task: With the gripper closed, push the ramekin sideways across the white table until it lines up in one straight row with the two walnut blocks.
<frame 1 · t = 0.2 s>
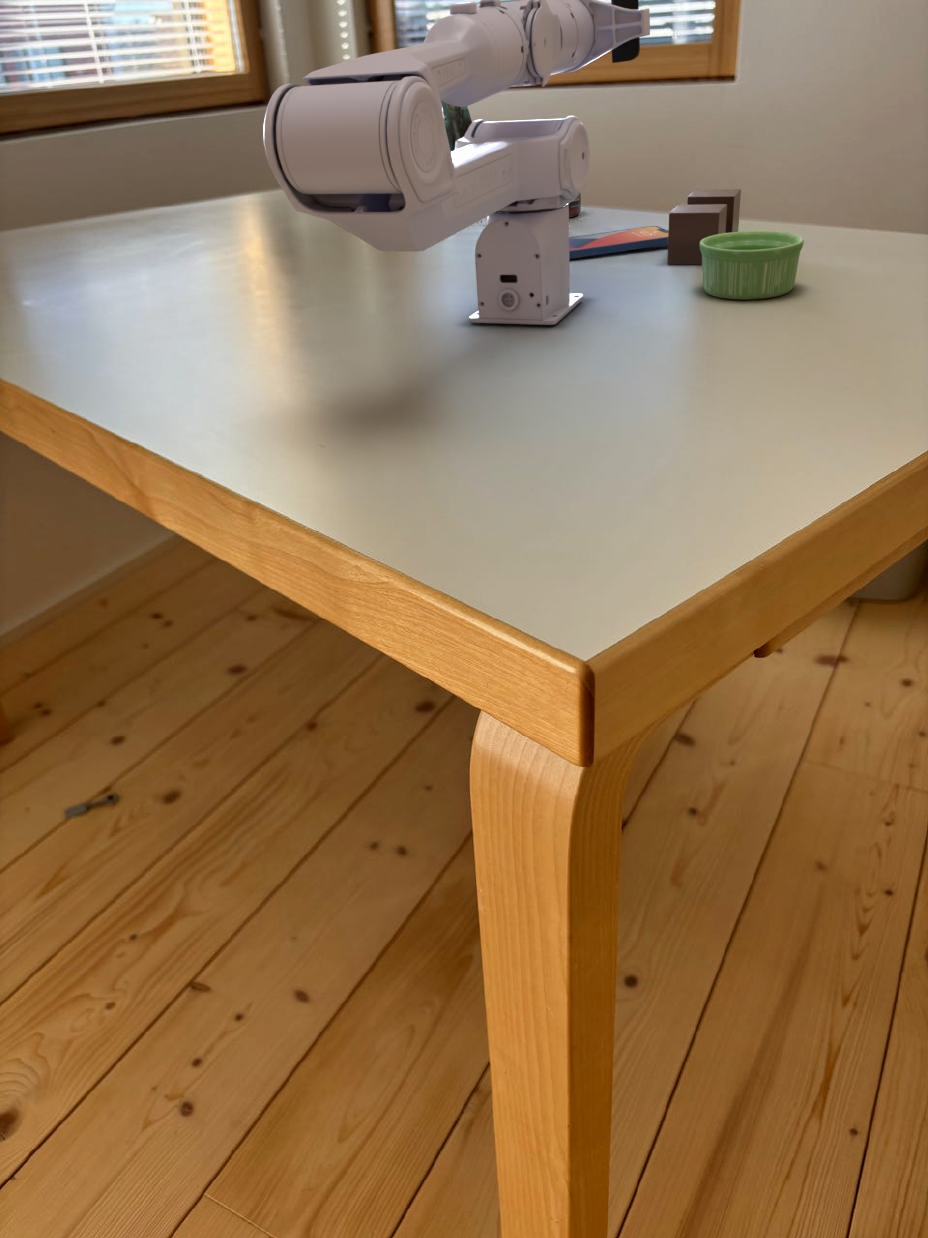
hand: (594, 27, 94), 22 cm above the table, tool horizontal, fingers open, 7 cm apart
ramekin: (747, 292, 91), on the table
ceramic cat: (446, 205, 149), on the table
walnut block near: (695, 259, 104), on the table
supplement bottle: (558, 217, 133), on the table
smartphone: (604, 249, 112), on the table
walnut block far: (711, 240, 112), on the table
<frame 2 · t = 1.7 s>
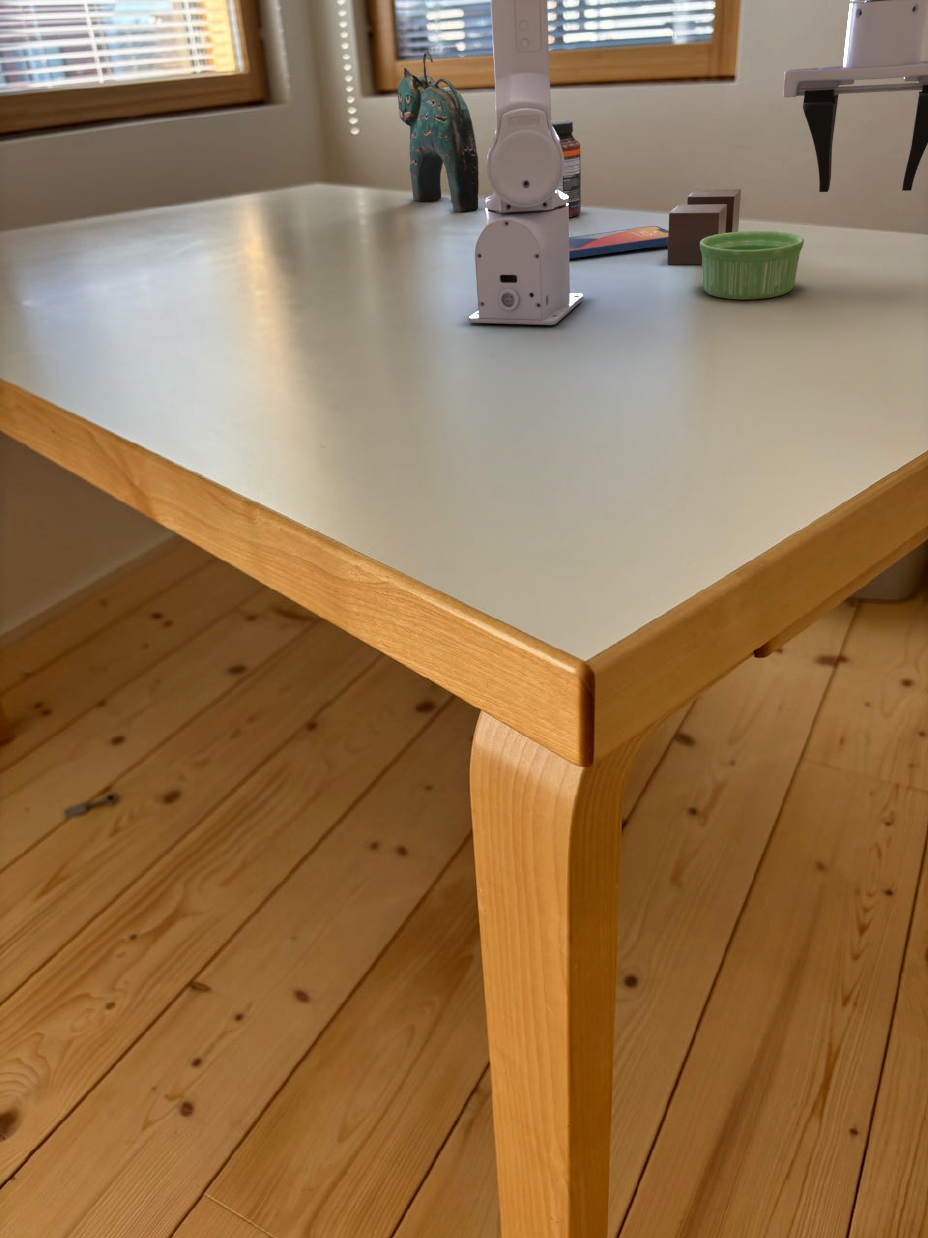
hand: (865, 189, 84), 8 cm above the table, tool pointing down, fingers open, 6 cm apart
nothing on the table moved.
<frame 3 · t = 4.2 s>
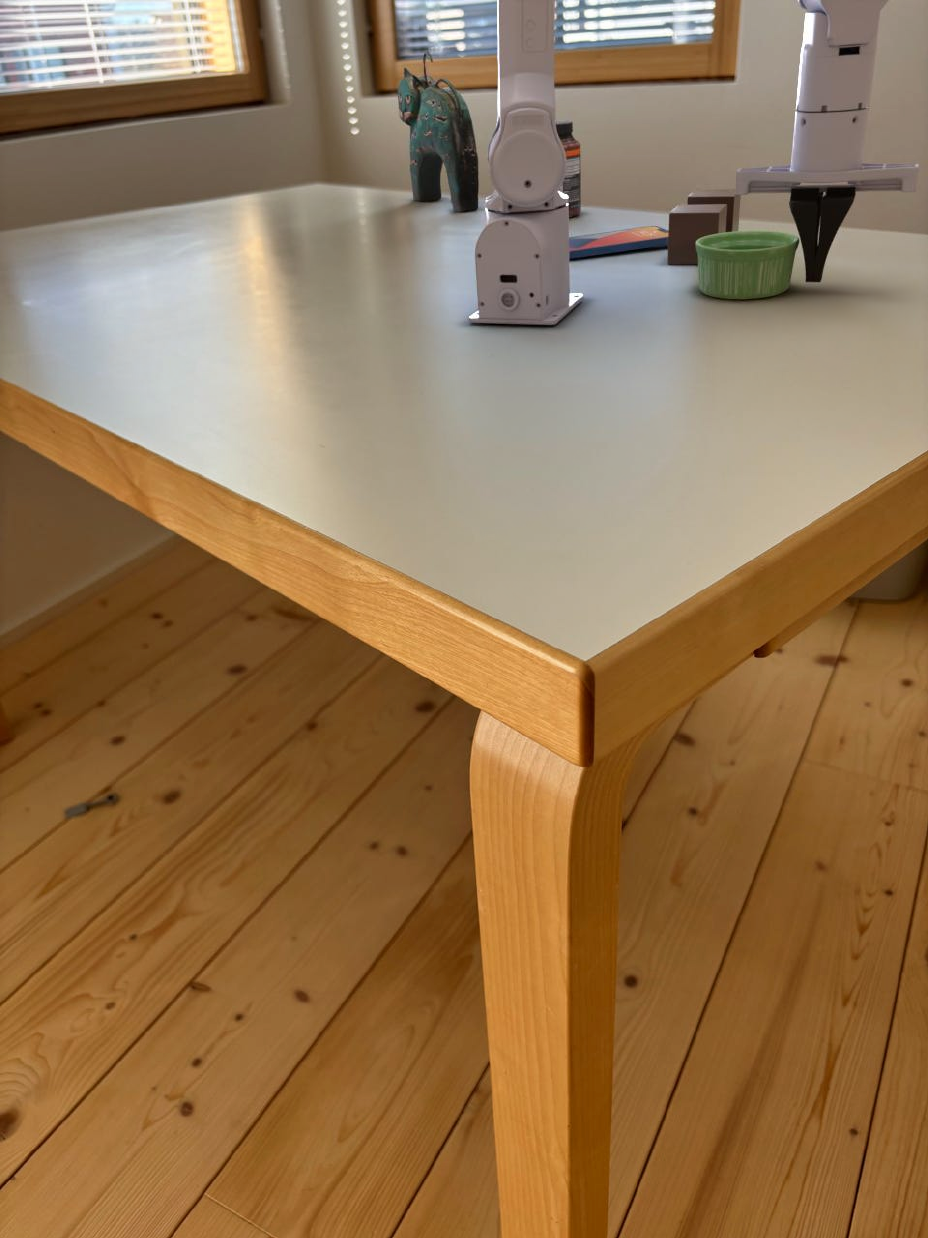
hand: (813, 279, 89), 1 cm above the table, tool pointing down, fingers closed
ramekin: (743, 292, 91), on the table, touching gripper
everything else where it was.
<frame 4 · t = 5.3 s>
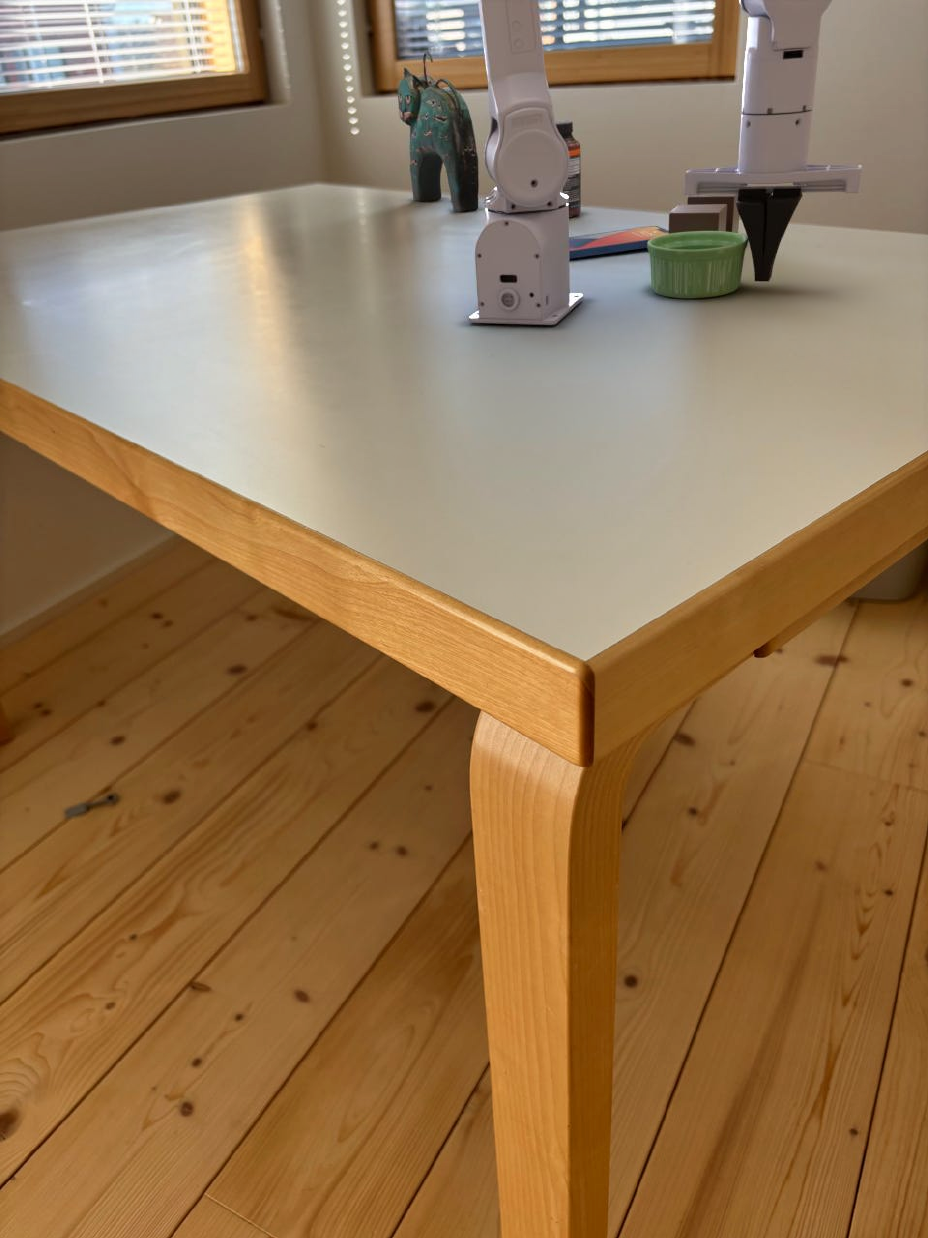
hand: (762, 279, 90), 1 cm above the table, tool pointing down, fingers closed
ramekin: (695, 291, 93), on the table, touching gripper
everything else where it was.
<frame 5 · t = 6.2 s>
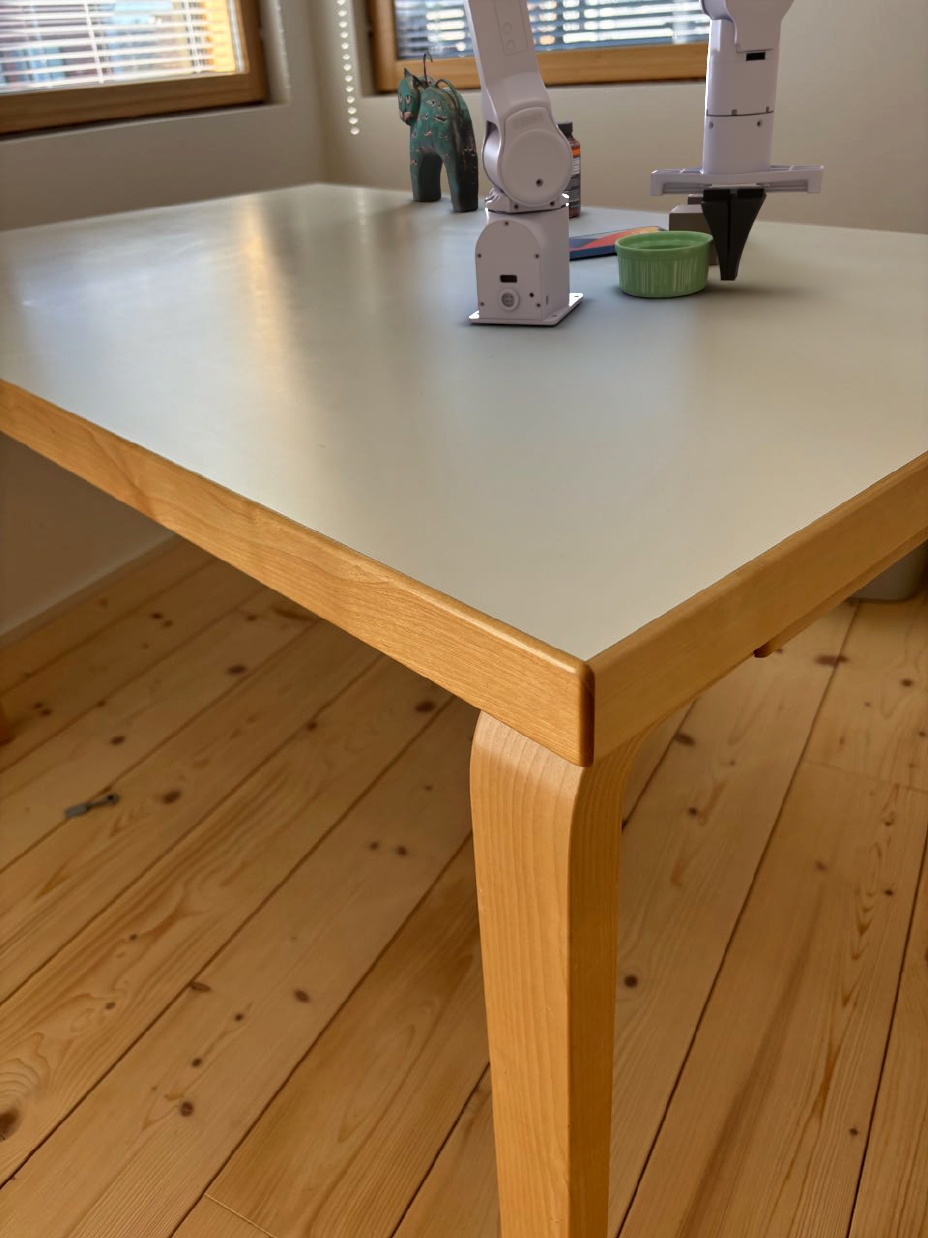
hand: (728, 278, 91), 1 cm above the table, tool pointing down, fingers closed
ramekin: (662, 290, 94), on the table, touching gripper
everything else where it was.
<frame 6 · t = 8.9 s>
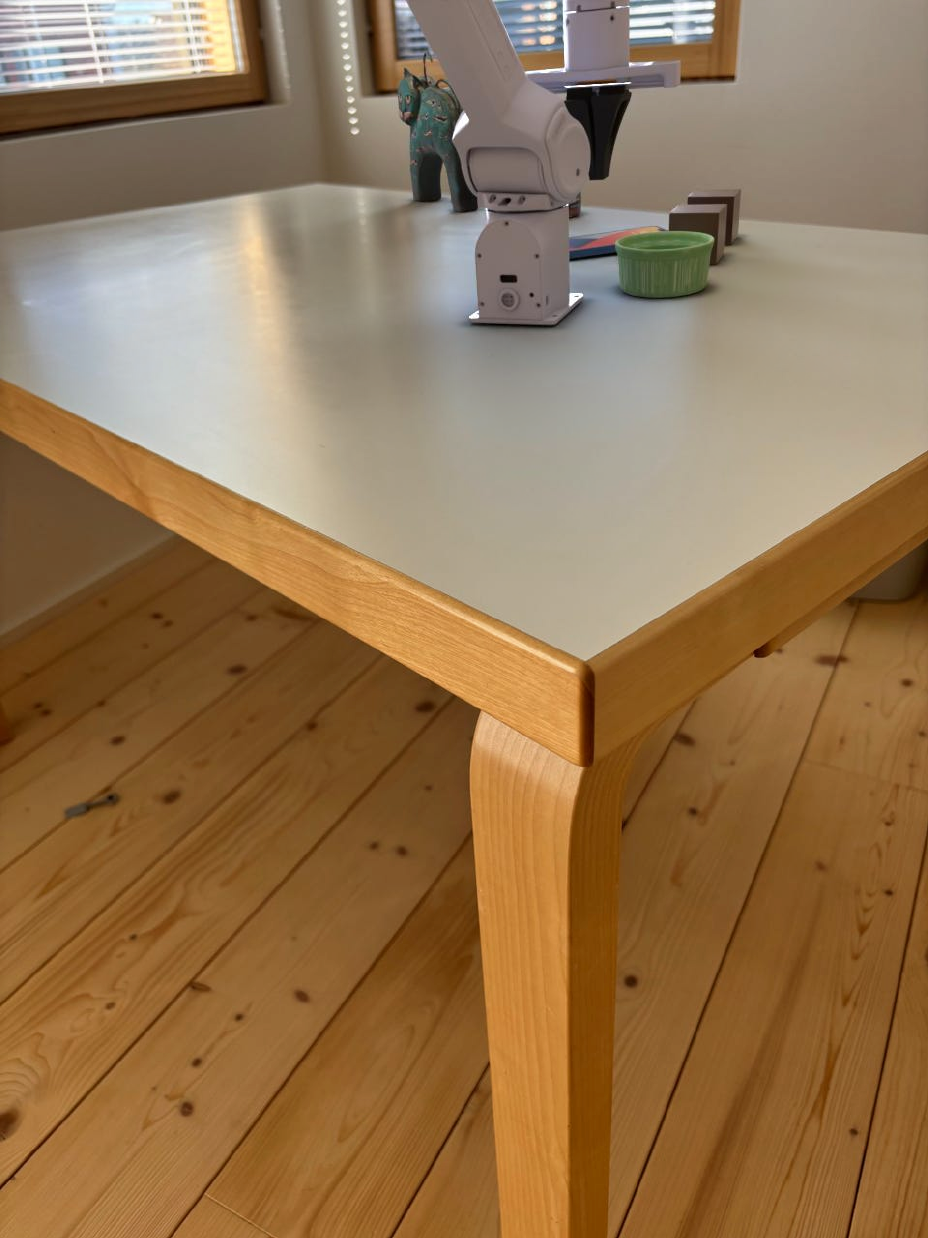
hand: (599, 178, 94), 9 cm above the table, tool pointing down, fingers closed
ramekin: (662, 290, 94), on the table
everything else where it was.
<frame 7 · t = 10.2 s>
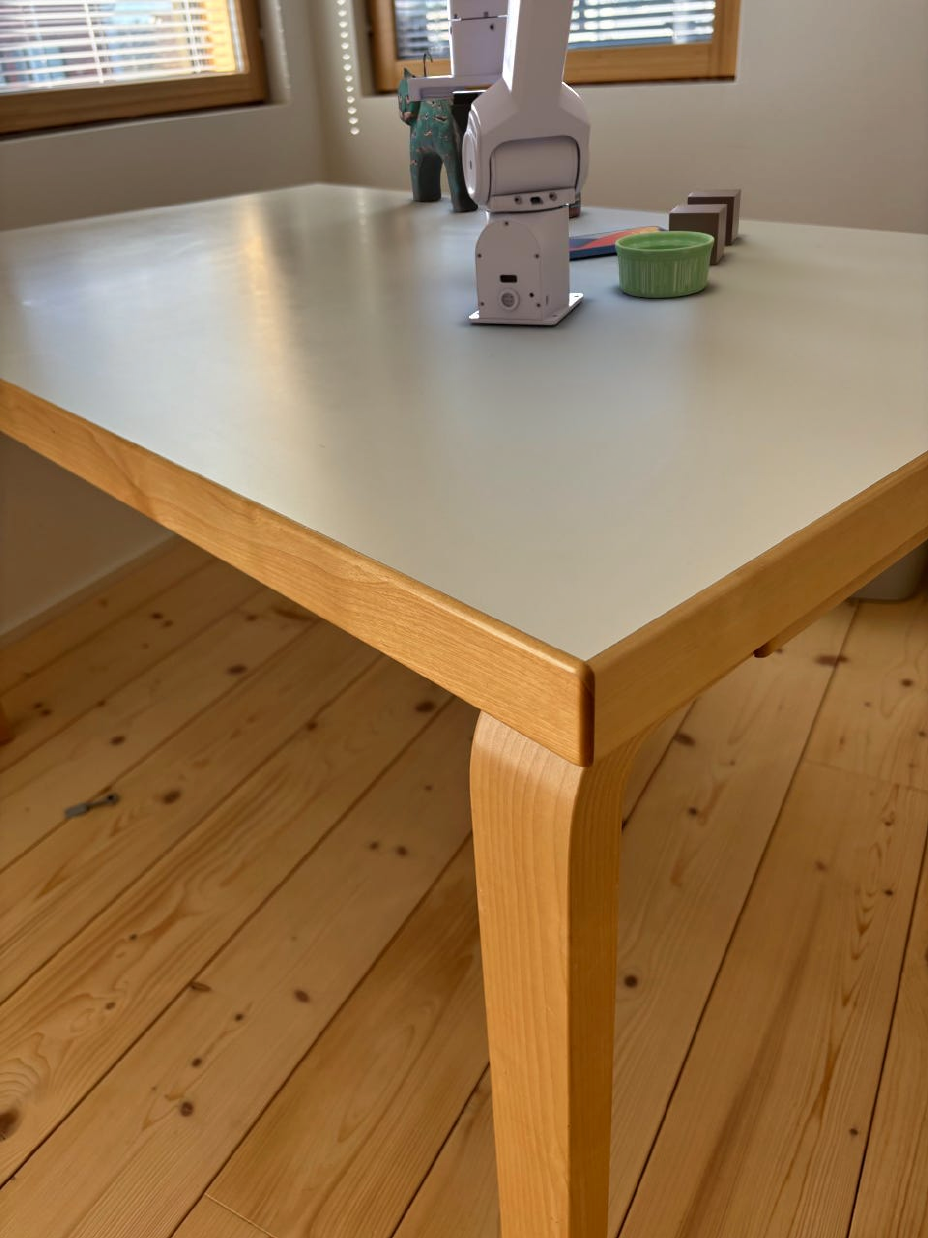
hand: (487, 180, 98), 9 cm above the table, tool pointing down, fingers closed
nothing on the table moved.
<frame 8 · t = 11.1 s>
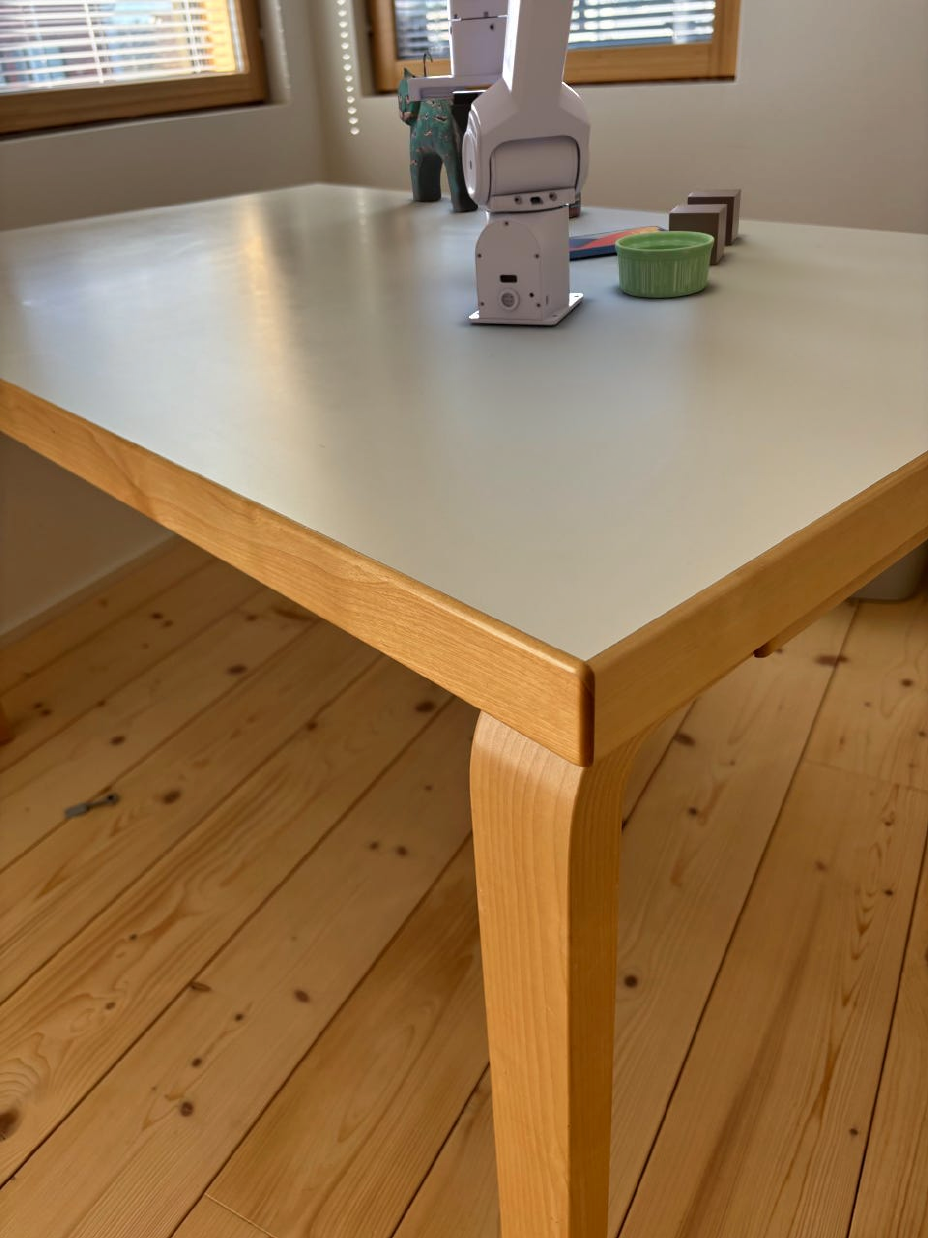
hand: (487, 180, 98), 9 cm above the table, tool pointing down, fingers closed
nothing on the table moved.
at the end: ramekin 0.8 cm from the target spot on the table beside the walnut block near, on the table; ramekin 0.8 cm from the target spot on the table beside the walnut block far, on the table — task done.
